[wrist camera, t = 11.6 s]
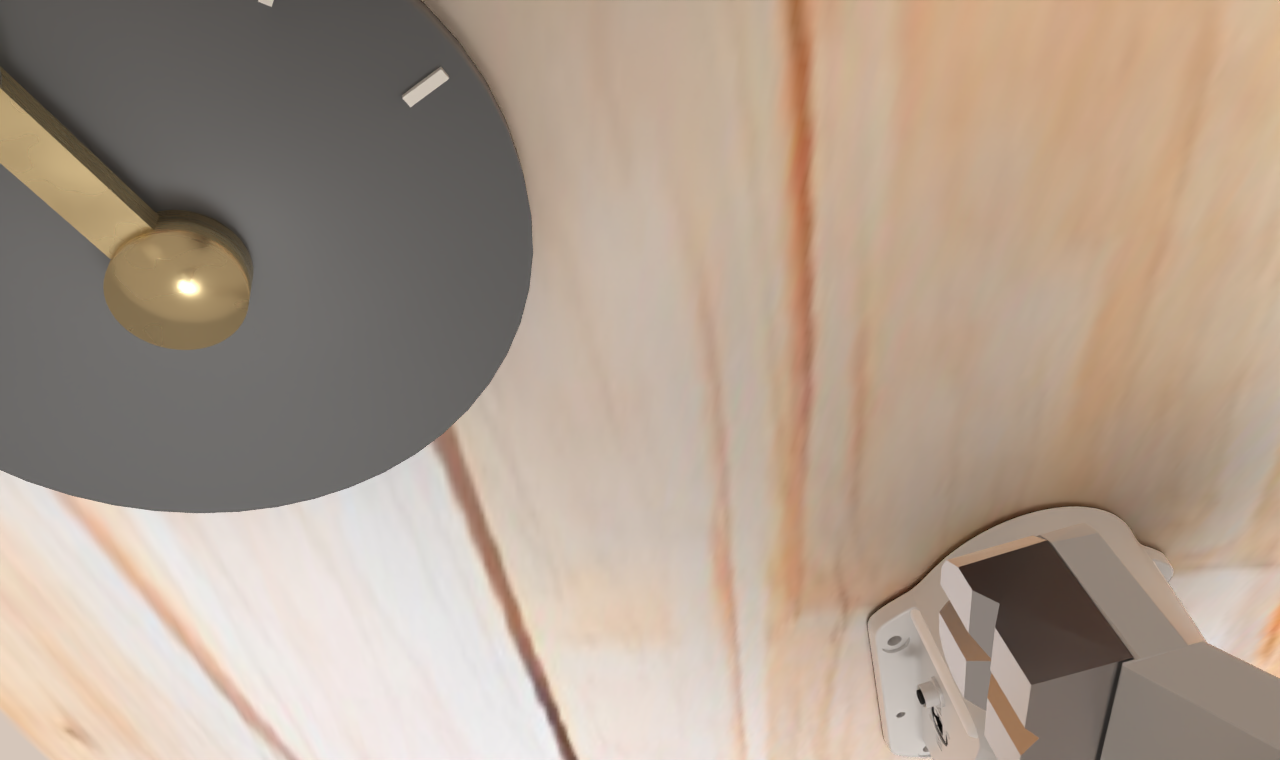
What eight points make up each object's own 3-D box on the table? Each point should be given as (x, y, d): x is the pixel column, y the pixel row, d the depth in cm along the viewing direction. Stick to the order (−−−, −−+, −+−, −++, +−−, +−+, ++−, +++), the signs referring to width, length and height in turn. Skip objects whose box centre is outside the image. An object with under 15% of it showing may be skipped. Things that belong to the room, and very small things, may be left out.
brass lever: (280, 278, 36) (262, 423, 30) (183, 341, 37) (146, 494, 31) (-73, -70, 28) (-200, 31, 21) (-191, 20, 28) (-346, 143, 22)
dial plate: (555, 436, 45) (561, 462, 44) (-18, 532, 42) (-31, 563, 41) (482, -162, 31) (487, -151, 29) (-416, -86, 27) (-456, -68, 26)
